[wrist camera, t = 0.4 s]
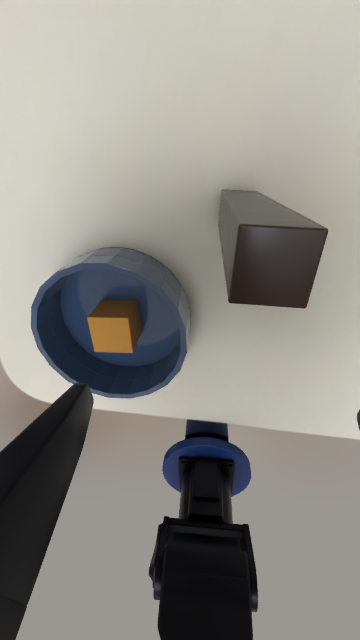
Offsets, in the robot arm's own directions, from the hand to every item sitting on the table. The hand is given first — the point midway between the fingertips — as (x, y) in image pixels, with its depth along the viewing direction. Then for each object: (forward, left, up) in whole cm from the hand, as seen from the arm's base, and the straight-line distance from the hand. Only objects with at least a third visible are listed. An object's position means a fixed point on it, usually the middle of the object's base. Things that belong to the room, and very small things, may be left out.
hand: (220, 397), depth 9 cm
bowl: (-5, +8, -16) cm, 19 cm away
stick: (+4, -2, -16) cm, 16 cm away
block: (-5, +8, -15) cm, 18 cm away
